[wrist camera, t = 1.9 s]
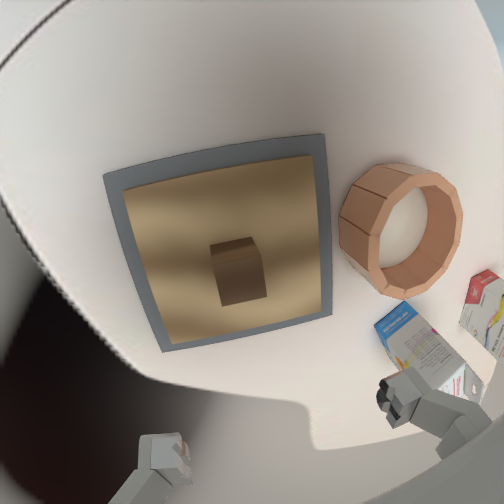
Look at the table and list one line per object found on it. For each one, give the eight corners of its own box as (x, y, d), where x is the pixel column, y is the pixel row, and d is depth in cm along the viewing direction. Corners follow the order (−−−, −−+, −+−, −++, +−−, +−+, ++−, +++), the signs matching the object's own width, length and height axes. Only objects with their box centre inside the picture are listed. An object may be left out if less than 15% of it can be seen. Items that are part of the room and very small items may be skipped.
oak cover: (124, 189, 20) (108, 203, 16) (308, 154, 21) (333, 160, 17) (172, 338, 25) (170, 372, 21) (318, 306, 27) (336, 334, 23)
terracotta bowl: (336, 169, 22) (368, 179, 18) (429, 160, 24) (465, 170, 19) (339, 284, 27) (364, 313, 22) (423, 260, 28) (452, 280, 24)
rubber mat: (104, 174, 19) (102, 175, 19) (321, 134, 21) (324, 134, 21) (162, 349, 26) (162, 352, 26) (330, 312, 28) (332, 314, 28)
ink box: (371, 325, 30) (445, 419, 17) (404, 299, 30) (486, 381, 17) (388, 359, 34) (446, 438, 21) (417, 336, 33) (480, 409, 20)
